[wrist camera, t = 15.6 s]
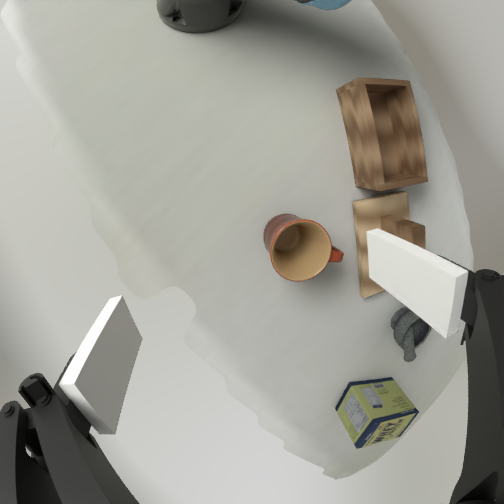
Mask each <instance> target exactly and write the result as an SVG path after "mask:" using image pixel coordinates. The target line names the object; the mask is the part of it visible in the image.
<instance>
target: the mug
mask: <svg viewBox="0 0 504 504" xmlns="http://www.w3.org/2000/svg"><path fill="white" fill-rule="evenodd" d="M264 243H265V246H266V249H267V250H268V252H269V253H270V258H271V262H272V265H273V267H274V269H275V270H276V272H277V273H278V274H279V275H281V276H282V277H284V278H285V279H288V280H291V281H305V280H309V279H311V278H313V277H315V276H316V275H318V274H319V273H320V272H321V271H322V270H323V269H324V268H325V267H326V265H327V263H328V262H341V261H342V259H343V256H344V253H343V252H342V251H341V250H339V249H338V248H336V247H334V246H332V244H331V240H330V237H329V235H328V233H327V231H326V230H325V229H324V228H323V227H322V226H321V225H320V224H318V223H317V222H314V221H311V220H305V219H301V218H299V217H298V216H295V215H292V214H281V215H278V216H275V217H274V218H272V219H271V220H270V221H269V222H268V224H267V225H266V227H265V230H264Z"/></svg>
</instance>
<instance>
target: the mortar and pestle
mask: <svg viewBox="0 0 504 504" xmlns="http://www.w3.org/2000/svg"><path fill="white" fill-rule="evenodd" d="M391 327H392V328H393V329H394V339H395V340H396V342H397V343H398V344H399V346H400V347H401V348H402V349H403V350H404V354H405V355H404V360H405V361H407V362H410V361H413V360H414V359H415V358H416V354H415V348H417V347H418V346H419V345H421V344H422V343H423V342H424V341H425V339H426V338H427V336H428V334H429V333H430V331H431V326H430V325H429V324H428V323H426V322H425V321H424V320H423V319H421V318H420V317H419V316H418V315H417V314H415V313H414V312H413V311H412V310H409V309H408V308H401V309H400V310H399V311H397V312H396V313H395V315H394V316H393V318H392V320H391Z"/></svg>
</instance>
